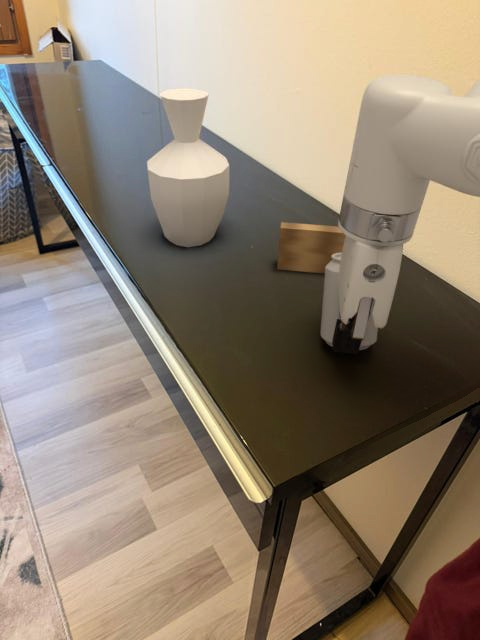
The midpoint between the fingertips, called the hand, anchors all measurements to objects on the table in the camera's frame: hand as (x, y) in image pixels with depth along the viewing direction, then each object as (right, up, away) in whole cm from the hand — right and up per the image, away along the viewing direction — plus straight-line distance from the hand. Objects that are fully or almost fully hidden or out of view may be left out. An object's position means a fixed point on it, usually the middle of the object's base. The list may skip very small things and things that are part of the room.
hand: (344, 348), depth 57 cm
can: (+2, 0, +5) cm, 5 cm away
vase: (-22, +19, +30) cm, 42 cm away
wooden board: (+1, +12, +21) cm, 24 cm away
